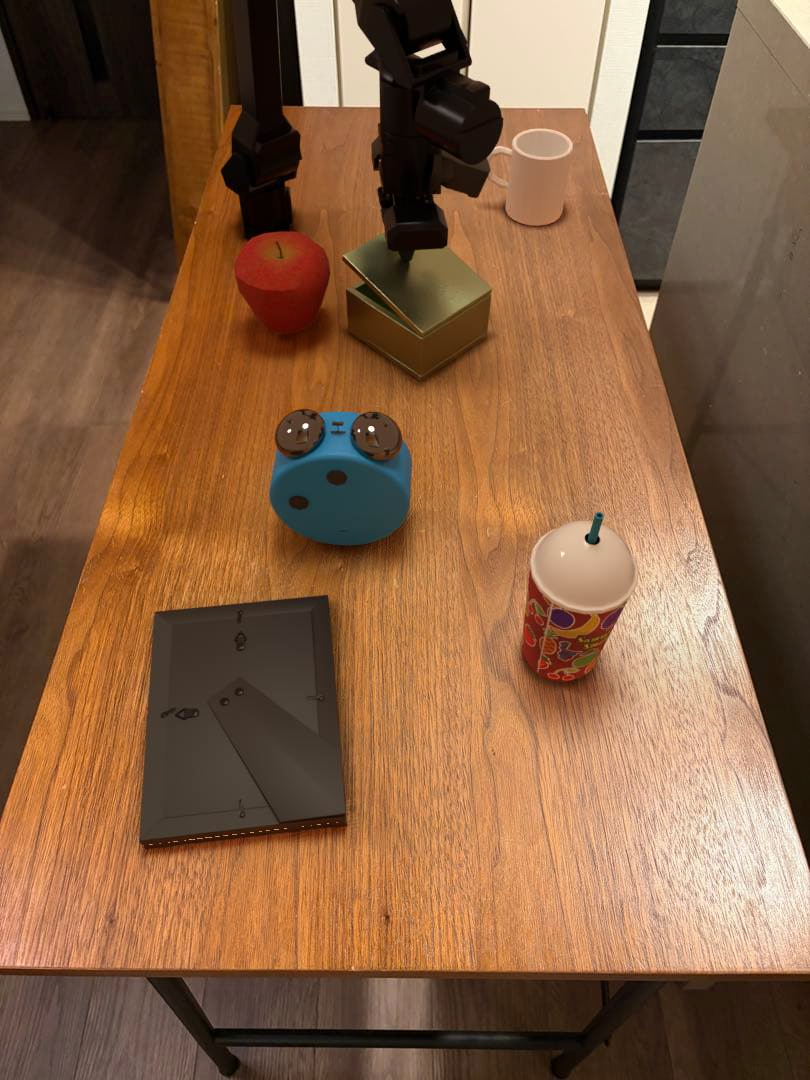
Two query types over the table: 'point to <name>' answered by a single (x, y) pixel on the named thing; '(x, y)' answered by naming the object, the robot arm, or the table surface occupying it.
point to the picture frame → (241, 723)
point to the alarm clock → (341, 476)
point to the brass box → (413, 332)
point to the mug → (535, 175)
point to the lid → (418, 282)
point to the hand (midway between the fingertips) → (406, 259)
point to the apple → (283, 279)
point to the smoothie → (575, 597)
